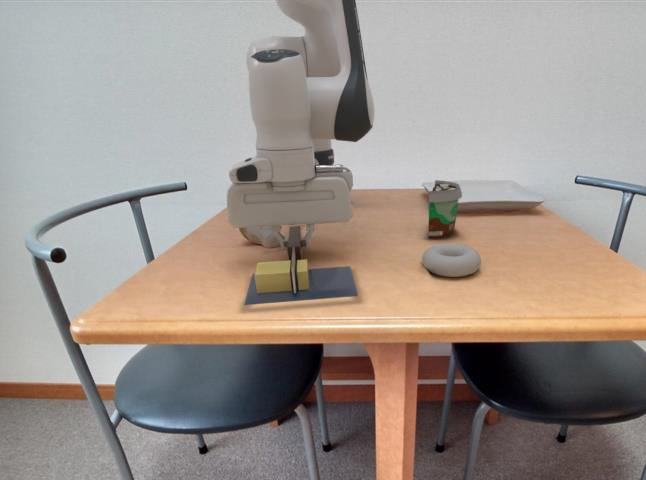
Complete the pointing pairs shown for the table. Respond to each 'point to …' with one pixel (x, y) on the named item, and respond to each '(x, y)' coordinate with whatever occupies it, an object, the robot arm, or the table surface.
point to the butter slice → (302, 275)
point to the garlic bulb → (261, 236)
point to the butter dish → (277, 284)
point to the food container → (443, 209)
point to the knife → (294, 250)
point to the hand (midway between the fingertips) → (295, 248)
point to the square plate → (492, 196)
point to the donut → (451, 260)
